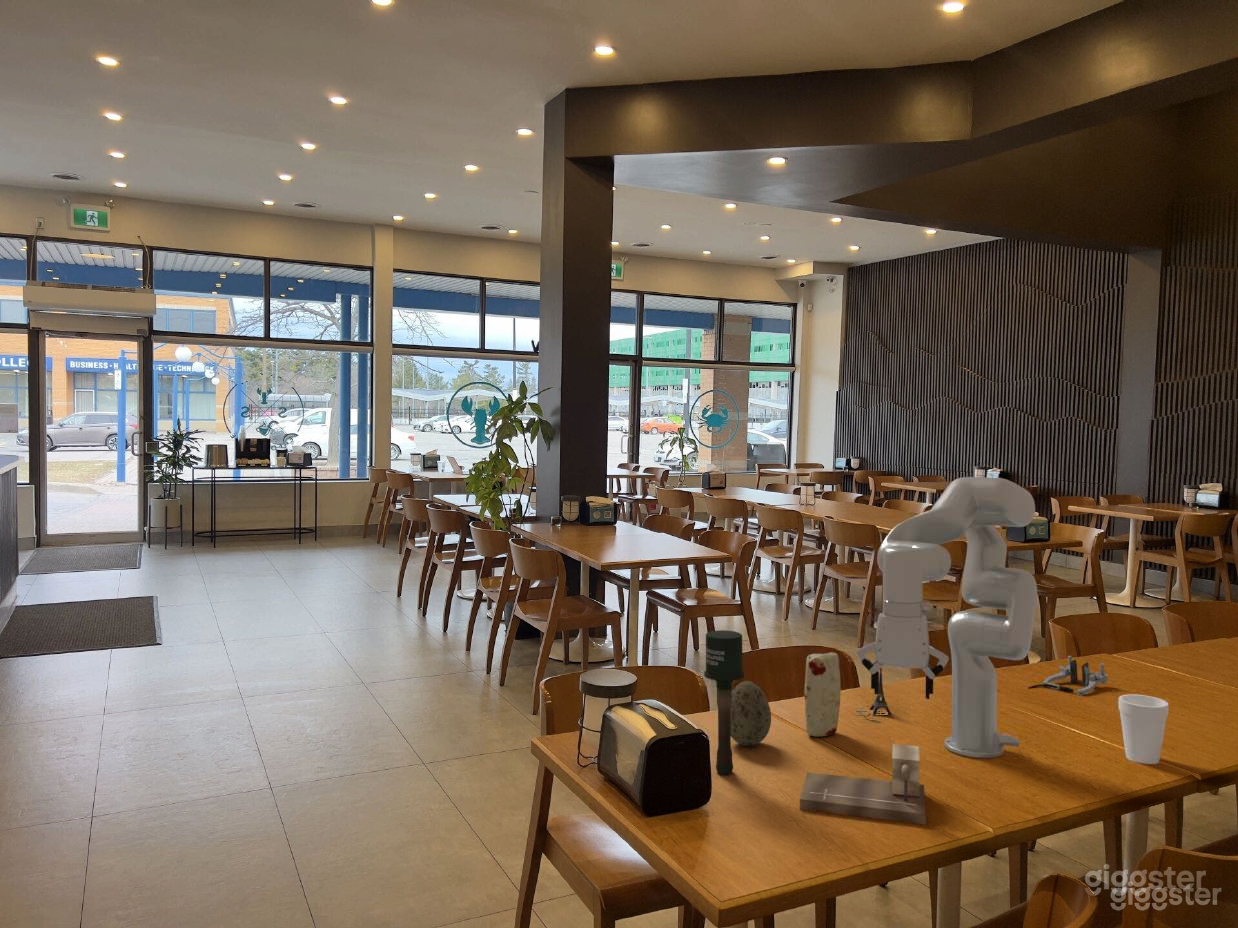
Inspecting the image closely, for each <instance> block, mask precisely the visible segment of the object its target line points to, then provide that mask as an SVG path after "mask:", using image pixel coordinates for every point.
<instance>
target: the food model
mask: <svg viewBox="0 0 1238 928" xmlns="http://www.w3.org/2000/svg"><path fill="white" fill-rule="evenodd" d="M805 661H806V662H805V663H806V664H805V679H804V693H803V694H804V713H805V728H806V734H807V735H808V736H813V737H826V736H827V737H828V736H832V735H835V734H836V732H837V730H838V725H839V724H838V723H839V716H840V707H841V706H840V705H841V671H840V670H841V669H840V667H841V666H840V658H839V655H838V654H837V653H836V652H826V653H811V654H808V655H807V657H806V660H805Z"/></svg>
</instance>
